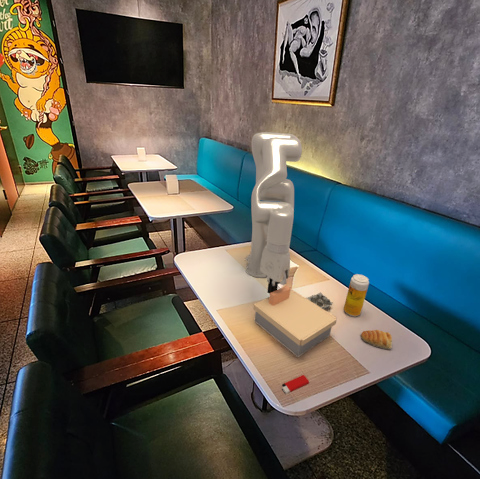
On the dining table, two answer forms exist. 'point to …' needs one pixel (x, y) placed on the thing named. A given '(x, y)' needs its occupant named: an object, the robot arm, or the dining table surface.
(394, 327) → the dining table surface
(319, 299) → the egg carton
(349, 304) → the beer can
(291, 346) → the box
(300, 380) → the lighter
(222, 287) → the dining table surface
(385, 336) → the pastry
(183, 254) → the dining table surface
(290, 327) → the lid
